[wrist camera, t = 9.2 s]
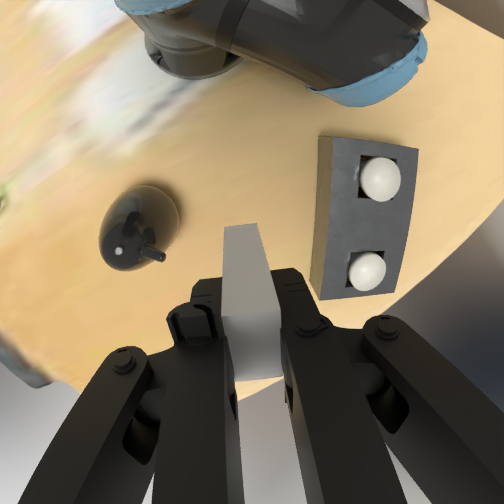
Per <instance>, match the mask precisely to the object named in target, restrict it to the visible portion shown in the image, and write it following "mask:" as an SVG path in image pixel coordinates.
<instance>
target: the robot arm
mask: <svg viewBox="0 0 504 504" xmlns="http://www.w3.org/2000/svg"><path fill="white" fill-rule="evenodd" d="M114 2H115V4H116V6H117V7H118V8H119V9H120V10H122V11H123V12H125V13H126V14H127V15H128V16H129V17H130V18H131V19H132V20H133V21H134V22H135V23H136V24H137V25H138V26H139V27H140V28H141V29H142V30H143V31H144V33H145V47H146V50H147V52H148V55H149V56H150V58H151V59H152V61H153V62H154V63H155V64H156V65H157V66H158V67H159V68H160V69H162V70H163V71H165V72H166V73H168V74H170V75H172V76H175V77H178V78H183V79H205V78H210V77H214V76H217V75H219V74H222V73H224V72H226V71H228V70H229V69H231V68H232V67H234V66H235V65H236V64H238V63H239V62H240V61H241V60H242V59H243V58H246V59H248V60H251V61H253V62H255V63H258V64H260V65H263V66H265V67H267V68H269V69H272V70H274V71H276V72H278V73H280V74H282V75H284V76H287V77H289V78H291V79H293V80H295V81H297V82H299V83H301V84H302V85H304V86H305V87H306V88H307V89H308V90H310V91H312V92H314V93H318V94H322V95H324V96H326V97H328V98H330V99H331V100H333V101H335V102H337V103H339V104H341V105H344V106H347V107H365V106H369V105H372V104H375V103H378V102H380V101H382V100H384V99H386V98H387V97H389V96H391V95H392V94H394V93H395V92H397V91H398V90H399V89H401V88H402V87H403V86H404V85H405V84H407V83H408V82H409V81H410V80H411V79H412V77H413V76H414V75H415V74H416V73H417V71H418V67H417V65H419V64H421V63H423V62H424V60H425V58H426V55H427V41H426V39H425V38H424V35H423V33H422V32H421V29H422V28H423V27H424V26H425V25H426V24H427V23H428V22H429V21H430V15H429V10H428V5H427V0H114ZM166 320H167V323H168V326H169V329H170V332H171V335H172V338H173V340H174V346H173V347H171V348H169V349H167V350H165V351H162V352H159V353H155V354H152V355H148V356H147V355H146V353H145V352H144V351H143V350H142V349H140V348H138V347H135V346H126V347H122V348H118V349H117V350H115V351H113V352H111V353H110V354H109V355H108V356H107V357H106V358H105V360H104V361H103V363H102V364H101V366H100V367H99V368H98V370H97V371H96V373H95V374H94V376H93V377H92V379H91V380H90V382H89V383H88V385H87V386H86V388H85V389H84V391H83V392H82V394H81V395H80V397H79V398H78V400H77V401H76V403H75V404H74V406H73V407H72V409H71V411H70V412H69V414H68V415H67V417H66V419H65V420H64V422H63V423H62V425H61V427H60V428H59V430H58V432H57V433H56V435H55V437H54V438H53V440H52V441H51V443H50V445H49V447H48V448H47V450H46V452H45V453H44V455H43V457H42V459H41V460H40V462H39V464H38V466H37V468H36V469H35V471H34V473H33V475H32V477H31V479H30V481H29V483H28V485H27V486H26V488H25V490H24V492H23V494H22V496H21V498H20V500H19V502H18V504H142V502H143V499H144V497H145V494H146V492H147V489H148V486H149V484H150V482H151V479H152V476H153V474H154V481H153V493H152V504H245V501H244V489H243V478H242V464H241V451H240V436H239V421H238V405H237V394H236V390H235V382H239V381H249V380H258V379H266V378H273V377H280V376H283V374H284V379H285V403H288V408H289V413H290V418H291V423H292V428H293V433H294V438H295V443H296V448H297V454H298V459H299V464H300V469H301V474H302V479H303V484H304V489H305V494H306V499H307V504H407V501H406V498H405V495H404V493H403V489H402V487H401V484H400V481H399V479H398V476H397V473H396V470H395V468H394V465H393V462H392V460H391V457H390V455H389V452H388V450H387V447H386V444H387V446H388V447H389V448H390V450H391V451H392V452H393V454H394V455H395V456H396V457H397V459H398V460H399V461H400V463H401V464H402V465H403V467H404V468H405V469H406V470H407V472H408V473H409V474H410V476H411V477H412V478H413V480H414V481H415V482H416V484H417V485H418V486H419V487H420V489H421V490H422V491H423V492H424V494H425V495H426V497H427V498H428V499H429V500H430V501H431V503H432V504H504V413H503V412H502V411H501V410H500V409H499V408H498V407H497V406H496V405H495V404H494V403H493V402H492V401H491V400H490V399H489V398H488V397H487V396H486V395H485V394H484V393H483V392H482V391H480V389H478V388H477V387H476V386H475V385H474V384H473V383H472V382H471V381H470V380H469V379H468V378H467V377H466V376H465V375H464V374H463V373H461V372H460V371H459V370H458V369H457V368H456V367H455V366H454V365H453V364H452V363H450V362H449V361H448V360H447V359H446V358H445V357H444V356H443V355H442V354H440V353H439V352H438V351H437V350H436V349H435V348H434V347H432V346H431V345H430V344H429V343H428V342H427V341H426V340H425V339H424V338H422V337H421V336H420V335H419V334H418V333H416V332H415V331H414V330H413V329H412V328H411V327H410V326H408V325H407V324H406V323H405V322H404V321H402V320H400V319H399V318H397V317H393V316H390V315H378V316H374V317H372V318H370V319H369V320H367V321H366V323H365V325H364V326H363V329H347V328H340V327H336V326H333V324H332V322H331V321H330V320H329V319H328V318H327V317H325V316H323V315H321V314H320V312H319V310H318V308H317V306H316V304H315V301H314V299H313V297H312V295H311V293H310V290H309V289H308V286H307V284H306V283H305V280H304V278H303V275H302V274H301V273H300V272H298V271H297V270H296V269H294V268H287V269H279V270H271V271H270V269H269V265H268V262H267V258H266V255H265V251H264V247H263V244H262V240H261V237H260V233H259V230H258V226H257V223H254V224H245V225H237V226H228V227H224V248H223V274H222V277H219V278H210V279H200V280H199V281H198V282H197V283H196V284H195V285H194V286H193V288H192V293H191V298H190V302H187V303H184V304H181V305H179V306H177V307H175V308H174V309H173V310H172V311H171V312H169V314H168V316H167V318H166ZM234 378H235V381H234ZM385 443H386V444H385Z"/></svg>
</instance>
